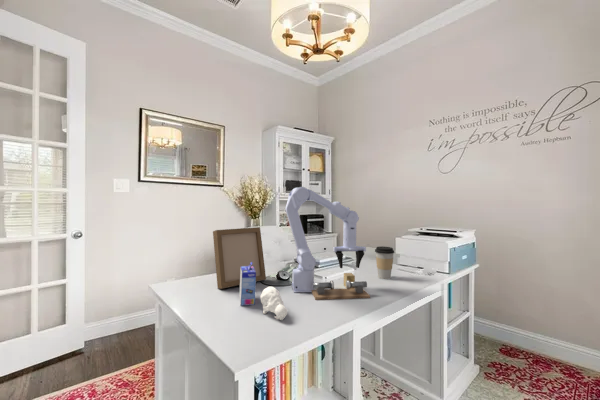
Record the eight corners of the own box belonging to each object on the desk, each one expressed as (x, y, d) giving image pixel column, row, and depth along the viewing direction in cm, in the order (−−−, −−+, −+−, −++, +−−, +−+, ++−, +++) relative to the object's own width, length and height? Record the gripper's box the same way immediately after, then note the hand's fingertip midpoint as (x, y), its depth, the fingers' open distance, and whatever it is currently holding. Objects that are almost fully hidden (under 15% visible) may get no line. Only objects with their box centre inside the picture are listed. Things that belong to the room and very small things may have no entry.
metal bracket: (285, 261, 146) (308, 265, 137) (287, 271, 148) (310, 276, 139) (267, 274, 135) (290, 280, 126) (269, 284, 137) (292, 291, 128)
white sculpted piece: (275, 283, 98) (293, 296, 88) (274, 306, 99) (292, 322, 89) (259, 286, 94) (276, 300, 85) (258, 310, 95) (275, 327, 85)
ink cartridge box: (256, 305, 100) (256, 265, 100) (240, 306, 99) (241, 266, 99) (253, 295, 110) (253, 259, 110) (239, 297, 108) (239, 260, 108)
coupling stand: (315, 299, 106) (315, 284, 106) (311, 292, 115) (311, 278, 115) (370, 297, 109) (370, 283, 109) (361, 290, 118) (362, 276, 118)
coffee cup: (396, 277, 139) (396, 247, 139) (391, 281, 131) (391, 250, 131) (377, 274, 144) (377, 245, 144) (371, 278, 136) (372, 248, 136)
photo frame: (266, 281, 129) (266, 228, 129) (221, 290, 115) (221, 231, 115) (250, 274, 140) (250, 225, 140) (208, 282, 126) (208, 228, 126)
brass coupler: (354, 288, 121) (354, 275, 121) (346, 288, 120) (346, 276, 120) (351, 284, 125) (351, 272, 125) (343, 285, 125) (343, 273, 125)
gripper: (336, 238, 118) (335, 270, 118) (368, 238, 120) (368, 269, 120) (332, 236, 125) (331, 266, 125) (362, 236, 127) (362, 265, 127)
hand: (349, 267), depth 123 cm, fingers open, 7 cm apart
